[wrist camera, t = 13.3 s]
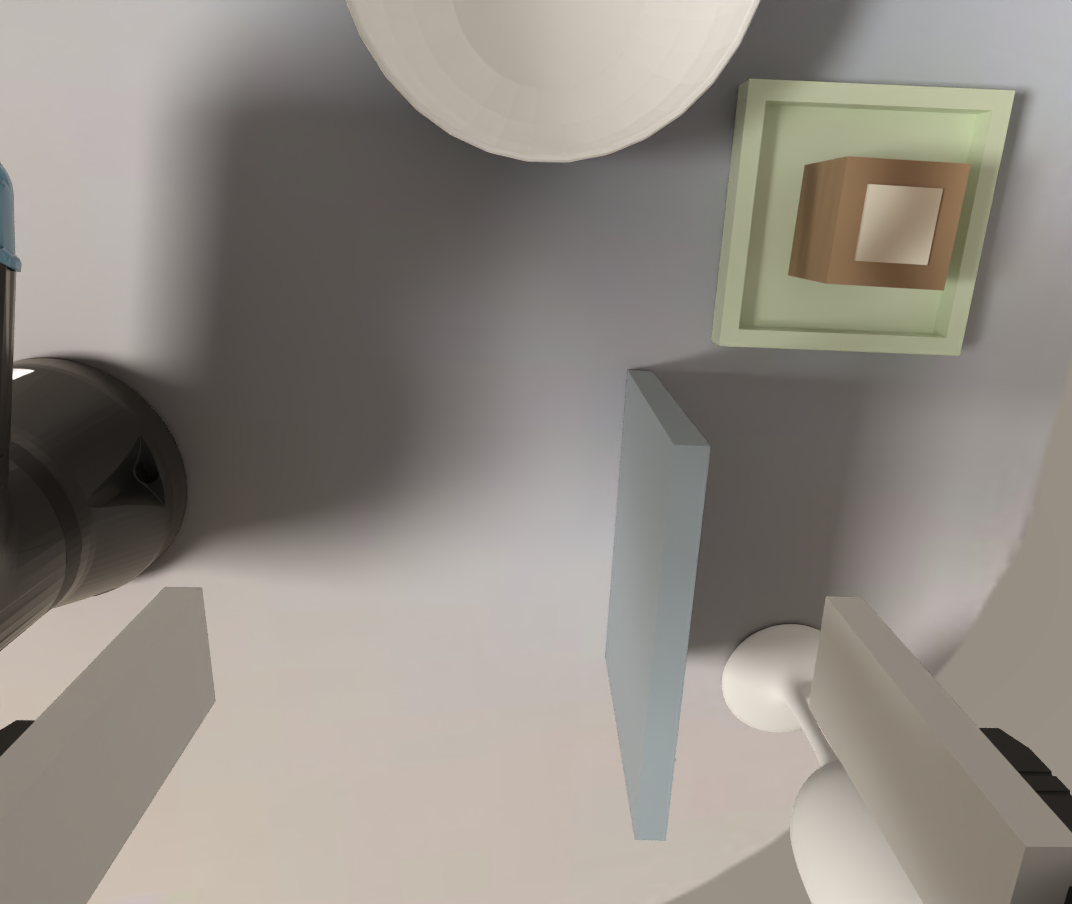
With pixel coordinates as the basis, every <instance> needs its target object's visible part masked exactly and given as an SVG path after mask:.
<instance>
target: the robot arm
mask: <svg viewBox="0 0 1072 904" xmlns="http://www.w3.org/2000/svg"><path fill="white" fill-rule="evenodd" d="M16 271H17V272H21V261H20V259H19V258H18V257H17V256H16V255H15V229H14V195H13V187H12V183H11V180H10V177H9V175H8V173H7V172H6V170H5V168H4V167H3V165H2V164H1V163H0V651H1V650H2V649H3V648H5V647H6V646H7V645H8V644H9V643H11V642H12V641H13V640H14V639H15V638H17V637H18V636H19V635H20V634H21V633H23V632H24V631H25V630H26V629H27V628H29V627H30V626H31V625H32V624H33V623H35V622H36V621H37V620H38V619H39V618H40V617H42V616H43V615H44V614H45V613H47V612H48V611H49V610H50V609H52V608H56V607H59V606H63V605H66V604H69V603H73V602H76V601H79V600H82V599H85V598H89V597H91V596H97V595H100V594H103V593H106V592H109V591H112V590H114V589H116V588H118V587H120V586H122V585H124V584H126V583H128V582H129V581H131V580H133V579H134V578H135V577H137V576H138V575H139V574H141V573H142V572H143V571H144V570H145V569H146V568H148V567H149V566H150V565H151V564H152V563H153V562H154V561H155V560H157V559H158V558H159V557H160V556H161V555H162V554H163V553H164V552H165V550H166V549H167V548H168V547H169V545H170V544H171V542H172V541H173V539H174V538H175V536H176V534H177V532H178V530H179V527H180V525H181V522H182V519H183V515H184V511H185V505H186V477H185V471H184V467H183V463H182V459H181V456H180V453H179V451H178V448H177V446H176V443H175V441H174V439H173V437H172V435H171V434H170V432H169V430H168V429H167V427H166V426H165V424H164V423H163V421H162V420H161V418H160V417H159V416H158V415H157V413H156V412H155V411H154V410H153V409H152V408H151V407H150V405H149V404H148V403H147V402H146V401H145V400H144V399H142V398H141V397H140V396H139V395H138V394H137V393H136V392H134V391H133V390H132V389H130V388H129V387H128V386H126V385H125V384H123V383H122V382H120V381H119V380H117V379H115V378H114V377H112V376H110V375H108V374H106V373H104V372H102V371H100V370H97V369H95V368H93V367H90V366H87V365H84V364H80V363H77V362H73V361H68V360H62V359H53V358H34V359H25V360H19V361H15V362H13V350H14V321H15V291H16ZM215 701H216V700H215V692H214V683H213V675H212V667H211V658H210V650H209V642H208V633H207V625H206V617H205V609H204V600H203V592H202V588H200V587H164V588H163V589H162V590H161V591H160V592H159V594H158V595H157V596H156V597H155V598H154V599H153V600H152V601H151V602H150V603H149V604H148V605H147V606H146V607H145V608H144V609H143V610H142V611H141V612H140V613H139V614H138V615H137V616H136V617H135V618H134V619H133V620H132V621H131V622H130V623H129V624H128V626H127V627H126V628H125V629H124V630H123V631H122V632H121V633H120V634H119V635H118V636H117V637H116V638H115V639H114V640H113V641H112V642H111V643H110V644H109V645H108V646H107V647H106V648H105V649H104V650H103V651H102V652H101V653H100V654H99V655H98V656H97V658H96V659H95V660H94V661H93V662H92V663H91V664H90V665H89V666H88V667H87V668H86V669H85V670H84V671H83V672H82V673H81V674H80V675H79V676H78V677H77V678H76V679H75V680H74V681H73V682H72V683H71V684H70V685H69V686H68V687H67V688H66V690H65V691H64V692H63V693H62V694H61V695H60V696H59V697H58V698H57V699H56V700H55V701H54V702H53V703H52V704H51V705H50V706H49V707H48V708H47V709H46V710H45V711H44V712H43V713H42V714H41V715H40V716H39V717H38V718H37V719H36V720H35V721H32V720H16V721H15V722H13V723H11V724H10V725H8V726H6V727H5V728H3V729H1V730H0V904H87V902H88V901H89V899H90V897H91V896H92V894H93V893H94V891H95V890H96V888H97V886H98V885H99V883H100V882H101V880H102V879H103V877H104V875H105V874H106V872H107V871H108V869H109V868H110V866H111V864H112V863H113V861H114V860H115V858H116V856H117V855H118V853H119V852H120V850H121V849H122V847H123V845H124V844H125V842H126V841H127V839H128V838H129V836H130V834H131V833H132V831H133V830H134V828H135V827H136V825H137V823H138V822H139V820H140V819H141V817H142V816H143V814H144V812H145V811H146V809H147V808H148V806H149V805H150V803H151V801H152V800H153V798H154V797H155V795H156V794H157V792H158V790H159V789H160V787H161V786H162V784H163V783H164V781H165V779H166V778H167V776H168V775H169V773H170V772H171V770H172V768H173V767H174V765H175V764H176V762H177V761H178V759H179V757H180V756H181V754H182V753H183V751H184V750H185V748H186V746H187V745H188V743H189V742H190V740H191V739H192V737H193V735H194V734H195V732H196V731H197V729H198V728H199V726H200V724H201V723H202V721H203V720H204V718H205V717H206V715H207V713H208V712H209V710H210V709H211V707H212V706H213V704H214V702H215ZM809 709H810V710H811V712H812V714H813V715H814V717H815V719H816V721H817V722H818V724H819V726H820V727H821V729H822V731H823V733H824V734H825V736H826V738H827V739H828V741H829V743H830V745H831V746H832V748H833V750H834V751H835V753H836V755H837V757H838V758H839V760H840V762H841V763H842V765H843V767H844V769H845V770H846V772H847V774H848V775H849V777H850V779H851V781H852V782H853V784H854V786H855V787H856V789H857V791H858V793H859V794H860V796H861V798H862V799H863V801H864V803H865V805H866V806H867V808H868V810H869V811H870V813H871V815H872V817H873V818H874V820H875V822H876V823H877V825H878V827H879V829H880V830H881V832H882V834H883V835H884V837H885V839H886V841H887V842H888V844H889V846H890V847H891V849H892V851H893V853H894V854H895V856H896V858H897V859H898V861H899V863H900V865H901V866H902V868H903V870H904V871H905V873H906V875H907V877H908V878H909V880H910V882H911V883H912V885H913V887H914V889H915V890H916V892H917V894H918V895H919V897H920V899H921V901H922V902H923V904H1072V796H1071V795H1070V791H1069V789H1068V788H1066V786H1065V785H1064V784H1063V783H1062V782H1061V781H1060V780H1059V779H1058V778H1057V777H1056V776H1052V774H1051V771H1050V770H1049V768H1047V766H1046V765H1045V764H1044V763H1043V762H1042V761H1041V760H1040V759H1039V758H1038V757H1037V756H1036V755H1035V754H1034V753H1033V752H1032V751H1031V750H1030V749H1029V748H1028V747H1026V746H1025V745H1023V744H1022V743H1020V742H1019V741H1017V740H1016V739H1014V738H1013V737H1011V736H1009V735H1008V734H1007V733H1005V732H1004V731H1002V730H1000V729H999V728H978V727H977V726H976V725H975V724H974V722H973V721H972V720H971V719H970V718H969V717H968V716H967V715H966V713H965V712H964V711H963V710H962V709H961V708H960V707H959V706H958V705H957V703H956V702H955V701H954V700H953V699H952V698H951V697H950V696H949V695H948V693H947V692H946V691H945V690H944V689H943V688H942V687H941V686H940V684H939V683H938V682H937V681H936V680H935V679H934V678H933V676H932V675H931V674H930V673H929V672H928V671H927V670H926V669H925V668H924V666H923V665H922V664H921V663H920V662H919V661H918V660H917V659H916V657H915V656H914V655H913V654H912V653H911V652H910V651H909V650H908V648H907V647H906V646H905V645H904V644H903V643H902V642H901V641H900V639H899V638H898V637H897V636H896V635H895V634H894V633H893V632H892V631H891V629H890V628H889V627H888V626H887V625H886V624H885V623H884V622H883V620H882V619H881V618H880V617H879V616H878V615H877V614H876V613H875V611H874V610H873V609H872V608H871V607H870V606H869V605H868V604H867V602H866V601H865V600H864V599H863V598H862V597H833V596H826V599H825V605H824V611H823V618H822V624H821V631H820V637H819V643H818V650H817V656H816V663H815V669H814V676H813V682H812V688H811V695H810V701H809Z"/></svg>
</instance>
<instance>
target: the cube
mask: <svg viewBox="0 0 1072 904" xmlns="http://www.w3.org/2000/svg"><path fill="white" fill-rule="evenodd" d="M970 166H971V164H964V163H948V162H932V161H915V160H899V159H883V158H867V157H851V156H847V157H842V158H837V159H832V160H827V161H822V162H817V163H812V164H807V165H805V166H804V172H803V179H802V186H801V192H800V199H799V205H798V212H797V218H796V225H795V231H794V238H793V244H792V251H791V258H790V264H789V271H788V275H789V276H793V277H798V278H802V279H807V280H811V281H816V282H821V283H825V284H840V285H857V286H874V287H891V288H908V289H925V290H941V291H944V288H945V283H946V278H947V274H948V269H949V264H950V260H951V255H952V250H953V246H954V241H955V236H956V232H957V227H958V222H959V217H960V213H961V208H962V203H963V199H964V194H965V189H966V185H967V180H968V175H969V171H970Z"/></svg>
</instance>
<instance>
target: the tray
mask: <svg viewBox="0 0 1072 904" xmlns="http://www.w3.org/2000/svg"><path fill="white" fill-rule="evenodd" d="M1014 95H1015V91H1014V90H992V89H970V88H948V87H926V86H904V85H882V84H860V83H838V82H816V81H794V80H772V79H748V80H746V81H745V82H743V83H742V84H740V85H739V90H738V99H737V108H736V117H735V126H734V135H733V144H732V153H731V162H730V172H729V181H728V190H727V199H726V208H725V217H724V226H723V235H722V244H721V254H720V263H719V272H718V281H717V290H716V299H715V308H714V317H713V327H712V336H711V341H712V342H714V343H715V344H717V345H718V346H730V347H755V348H780V349H805V350H829V351H854V352H879V353H903V354H928V355H953V356H960V353H961V348H962V344H963V339H964V334H965V329H966V325H967V320H968V315H969V310H970V305H971V301H972V296H973V291H974V286H975V282H976V277H977V272H978V267H979V262H980V258H981V253H982V248H983V243H984V239H985V234H986V229H987V224H988V219H989V215H990V210H991V205H992V200H993V195H994V191H995V186H996V181H997V176H998V172H999V167H1000V162H1001V157H1002V152H1003V148H1004V143H1005V138H1006V133H1007V129H1008V124H1009V119H1010V114H1011V109H1012V105H1013V100H1014ZM847 156H851V157H867V158H883V159H899V160H915V161H932V162H948V163H964V164H971V166H970V171H969V175H968V180H967V185H966V189H965V194H964V199H963V203H962V208H961V213H960V217H959V222H958V227H957V232H956V236H955V241H954V246H953V250H952V255H951V260H950V264H949V269H948V274H947V278H946V283H945V288H944V291H941V290H925V289H908V288H891V287H874V286H857V285H840V284H825V283H821V282H816V281H811V280H807V279H802V278H798V277H793V276H789V275H788V271H789V264H790V258H791V251H792V244H793V238H794V231H795V225H796V218H797V212H798V205H799V199H800V192H801V186H802V179H803V172H804V166H805V165H807V164H812V163H817V162H822V161H827V160H832V159H837V158H842V157H847Z"/></svg>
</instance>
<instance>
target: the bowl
mask: <svg viewBox="0 0 1072 904" xmlns="http://www.w3.org/2000/svg"><path fill="white" fill-rule="evenodd" d="M760 1H761V0H345V2H346V4H347V6H348V9H349V11H350V14H351V16H352V19H353V21H354V23H355V26H356V28H357V31H358V33H359V36H360V38H361V39H362V41H363V42H364V44H365V46H366V47H367V49H368V50H369V52H370V54H371V55H372V57H373V58H374V60H375V61H376V63H377V65H378V66H379V68H380V69H381V71H382V72H383V74H384V76H385V77H386V78H387V79H388V80H389V81H390V82H391V83H392V85H393V86H394V87H395V88H396V89H397V90H398V91H399V92H400V93H401V94H402V95H403V96H404V97H405V99H406V100H407V101H408V102H409V103H410V104H411V105H412V106H413V107H414V108H415V109H416V110H417V111H418V112H420V113H421V114H422V115H424V116H425V117H427V118H428V119H429V120H431V121H432V122H433V123H435V124H436V125H437V126H439V127H440V128H442V129H443V130H444V131H446V132H447V133H448V134H450V135H452V136H454V137H456V138H458V139H460V140H462V141H464V142H467V143H469V144H471V145H473V146H475V147H477V148H480V149H482V150H484V151H486V152H488V153H493V154H497V155H501V156H505V157H510V158H514V159H518V160H523V161H527V162H567V163H568V162H573V161H579V160H584V159H589V158H594V157H600V156H605V155H609V154H611V153H614V152H616V151H619V150H621V149H623V148H626V147H628V146H631V145H633V144H635V143H638V142H640V141H643V140H645V139H647V138H649V137H650V136H651V135H653V134H654V133H656V132H657V131H659V130H660V129H662V128H663V127H665V126H666V125H668V124H669V123H671V122H672V121H674V120H675V119H677V118H678V117H680V116H681V115H682V114H683V113H684V112H685V111H686V110H687V109H688V108H689V107H690V106H691V105H693V104H694V103H695V102H696V101H697V100H698V99H699V98H700V97H701V96H702V95H703V94H704V93H705V92H706V91H707V90H708V89H709V88H710V87H711V86H712V85H713V84H714V82H715V81H716V79H717V78H718V76H719V75H720V74H721V72H722V71H723V69H724V68H725V66H726V65H727V64H728V62H729V61H730V59H731V58H732V56H733V55H734V53H735V52H736V51H737V49H738V48H739V46H740V44H741V42H742V40H743V38H744V36H745V34H746V32H747V29H748V27H749V25H750V23H751V21H752V19H753V16H754V14H755V12H756V10H757V8H758V6H759V3H760Z"/></svg>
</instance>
